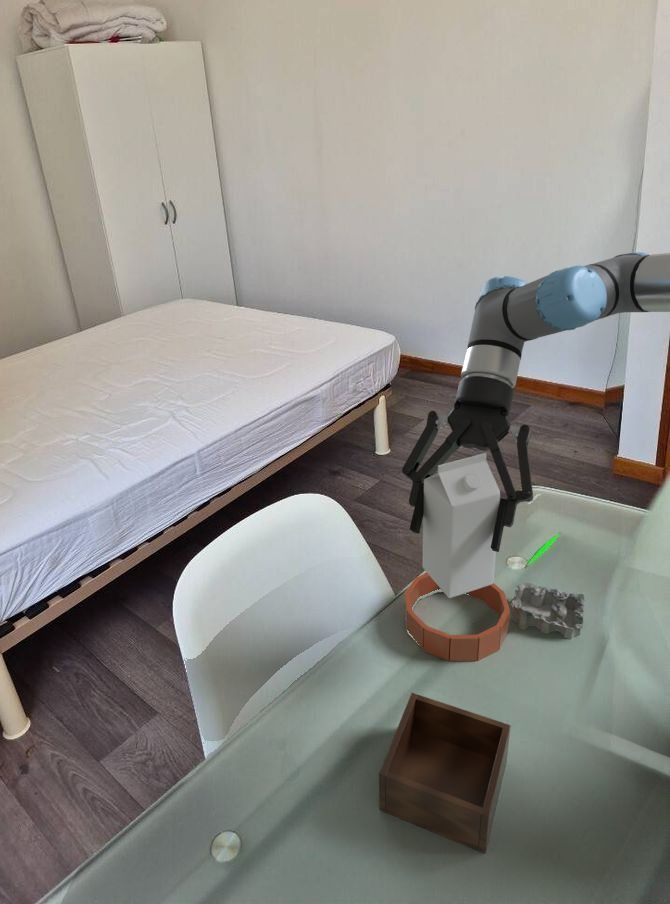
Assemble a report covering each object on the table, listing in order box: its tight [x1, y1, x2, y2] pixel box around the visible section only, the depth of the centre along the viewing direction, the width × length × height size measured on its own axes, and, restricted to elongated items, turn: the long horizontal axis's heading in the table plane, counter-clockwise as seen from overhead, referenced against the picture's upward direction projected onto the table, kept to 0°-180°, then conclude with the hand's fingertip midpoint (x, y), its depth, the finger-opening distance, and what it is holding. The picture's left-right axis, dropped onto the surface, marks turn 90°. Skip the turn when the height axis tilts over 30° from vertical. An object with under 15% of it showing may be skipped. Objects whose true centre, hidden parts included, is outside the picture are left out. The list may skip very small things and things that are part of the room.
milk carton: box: [421, 452, 501, 599], centre depth 92 cm, size 7×7×19 cm
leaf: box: [524, 533, 560, 568], centre depth 124 cm, size 1×14×1 cm, turn 134°
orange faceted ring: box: [404, 572, 511, 662], centre depth 108 cm, size 16×16×4 cm
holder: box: [378, 692, 512, 854], centre depth 83 cm, size 13×13×7 cm
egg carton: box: [510, 582, 585, 640], centre depth 108 cm, size 11×8×4 cm
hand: (453, 540), depth 90 cm, fingers closed on milk carton, 10 cm apart
